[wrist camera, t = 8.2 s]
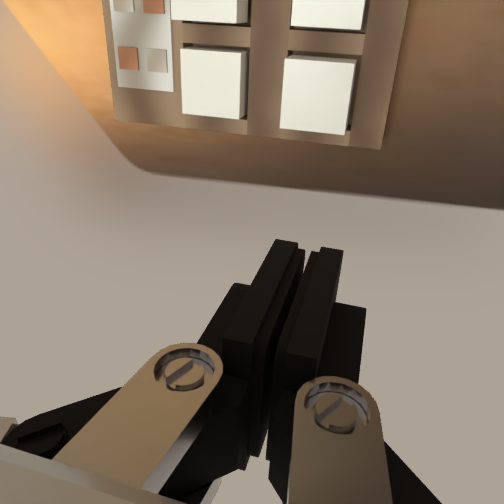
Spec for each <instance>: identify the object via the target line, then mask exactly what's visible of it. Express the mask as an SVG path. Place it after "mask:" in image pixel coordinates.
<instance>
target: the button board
mask: <svg viewBox="0 0 504 504" xmlns="http://www.w3.org/2000/svg"><path fill="white" fill-rule="evenodd" d="M292 3H293V0H248V22H245V23H221V22H204V21H187V20H171V0H102V5H103V14H104V23H105V32H106V41H107V51H108V60H109V69H110V78H111V87H112V96H113V106H114V115H115V120H119V121H128V122H137V123H145V124H154V125H163V126H172V127H181V128H190V129H199V130H208V131H217V132H226V133H234V134H243V135H252V136H261V137H270V138H279V139H288V140H297V141H306V142H315V143H323V144H332V145H341V146H350V147H359V148H368V149H377V150H381V145H382V140H383V134H384V129H385V124H386V118H387V113H388V108H389V103H390V97H391V92H392V87H393V82H394V76H395V71H396V66H397V61H398V55H399V50H400V45H401V39H402V34H403V29H404V24H405V18H406V13H407V8H408V3H409V0H367V1H366V7H365V14H364V21H363V28H362V29H361V30H354V29H337V28H320V27H303V26H291V16H292ZM191 46H204V47H218V48H232V49H245V50H250V59H249V87H248V113H247V114H246V115H244V116H243V117H242V118H240V119H230V118H221V117H211V116H202V115H192V114H183V113H182V89H181V60H180V49H181V48H186V47H191ZM291 55H303V56H317V57H331V58H344V59H357V63H356V70H355V77H354V84H353V90H352V97H351V104H350V111H349V117H348V124H347V128H346V131H345V135H338V134H329V133H320V132H310V131H301V130H292V129H282V128H280V116H281V102H282V88H283V75H284V61H285V58H287V57H289V56H291Z"/></svg>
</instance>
